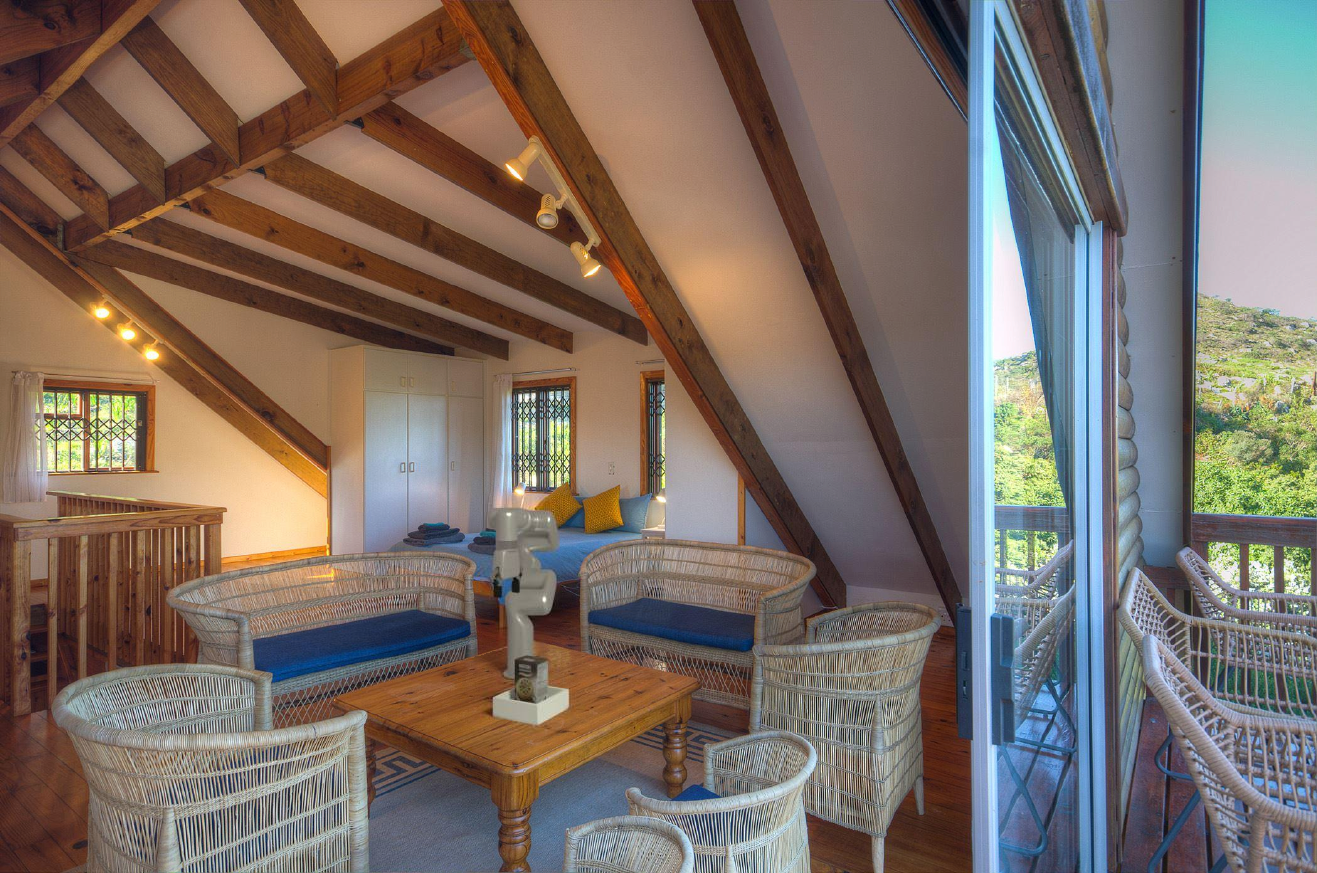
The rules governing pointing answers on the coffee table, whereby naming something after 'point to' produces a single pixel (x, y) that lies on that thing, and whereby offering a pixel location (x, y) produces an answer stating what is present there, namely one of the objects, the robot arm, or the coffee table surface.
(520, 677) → the coffee box
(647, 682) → the coffee table surface
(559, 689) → the bin
